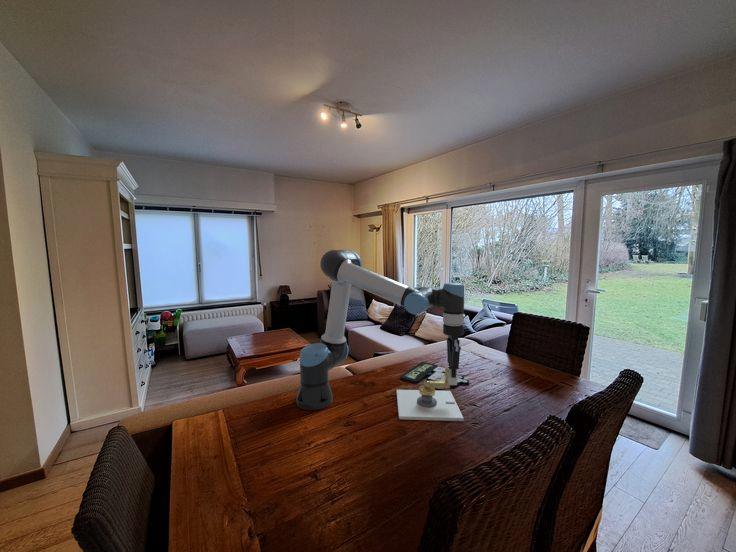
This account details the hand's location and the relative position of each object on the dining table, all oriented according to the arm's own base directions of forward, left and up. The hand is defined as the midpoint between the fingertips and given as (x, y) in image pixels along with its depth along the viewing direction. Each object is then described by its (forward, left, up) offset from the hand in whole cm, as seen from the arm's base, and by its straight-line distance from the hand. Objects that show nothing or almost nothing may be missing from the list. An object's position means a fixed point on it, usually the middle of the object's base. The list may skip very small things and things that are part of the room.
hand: (452, 384), depth 114 cm
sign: (0, +34, -13) cm, 36 cm away
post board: (-9, +7, -12) cm, 17 cm away
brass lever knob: (-5, +7, -7) cm, 11 cm away
